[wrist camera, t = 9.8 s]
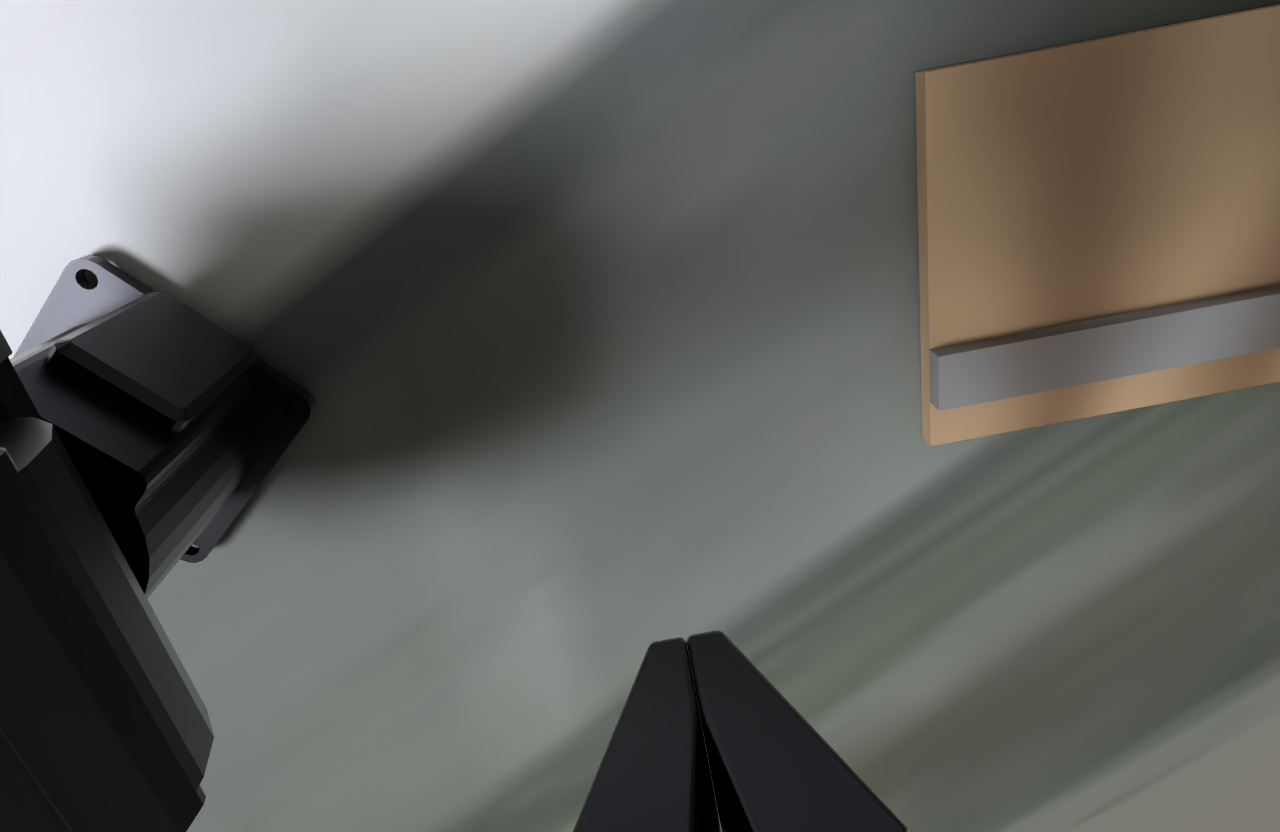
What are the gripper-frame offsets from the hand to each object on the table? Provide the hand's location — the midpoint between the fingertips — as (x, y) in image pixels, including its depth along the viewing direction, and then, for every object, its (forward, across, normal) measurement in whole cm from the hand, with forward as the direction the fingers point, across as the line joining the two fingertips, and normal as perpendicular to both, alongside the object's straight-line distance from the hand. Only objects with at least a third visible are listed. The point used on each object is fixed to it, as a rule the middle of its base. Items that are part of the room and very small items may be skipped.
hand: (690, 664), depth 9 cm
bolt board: (+13, -18, 0) cm, 22 cm away
